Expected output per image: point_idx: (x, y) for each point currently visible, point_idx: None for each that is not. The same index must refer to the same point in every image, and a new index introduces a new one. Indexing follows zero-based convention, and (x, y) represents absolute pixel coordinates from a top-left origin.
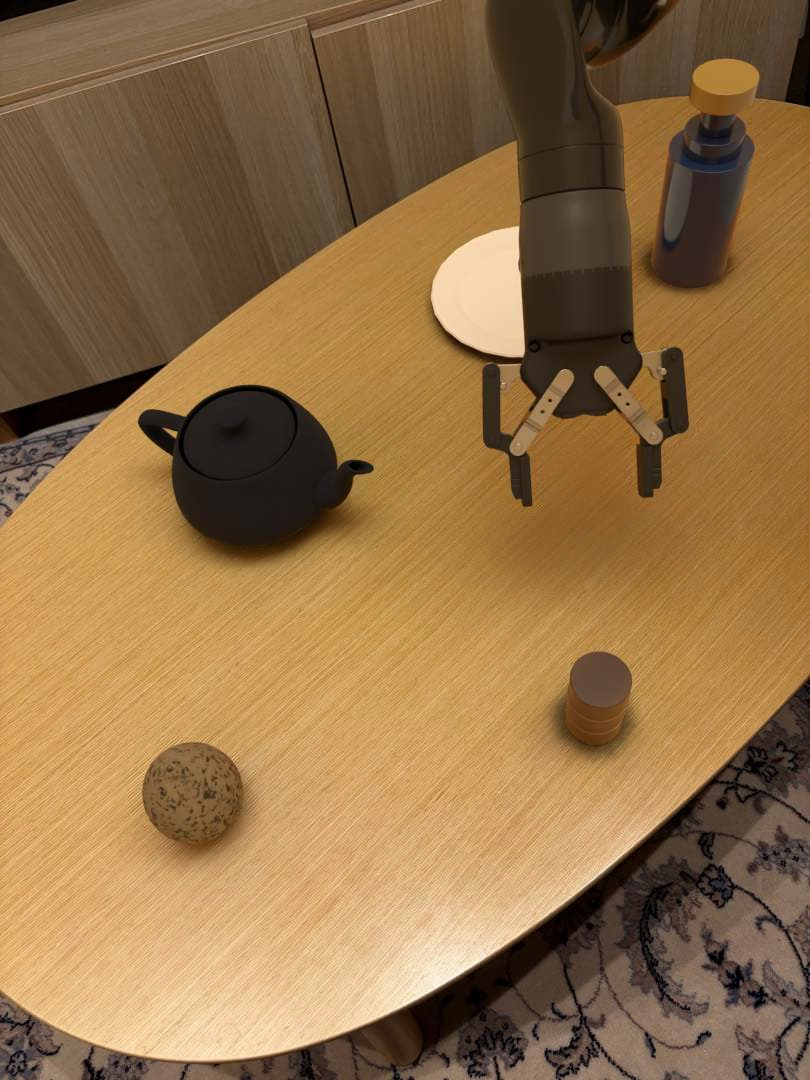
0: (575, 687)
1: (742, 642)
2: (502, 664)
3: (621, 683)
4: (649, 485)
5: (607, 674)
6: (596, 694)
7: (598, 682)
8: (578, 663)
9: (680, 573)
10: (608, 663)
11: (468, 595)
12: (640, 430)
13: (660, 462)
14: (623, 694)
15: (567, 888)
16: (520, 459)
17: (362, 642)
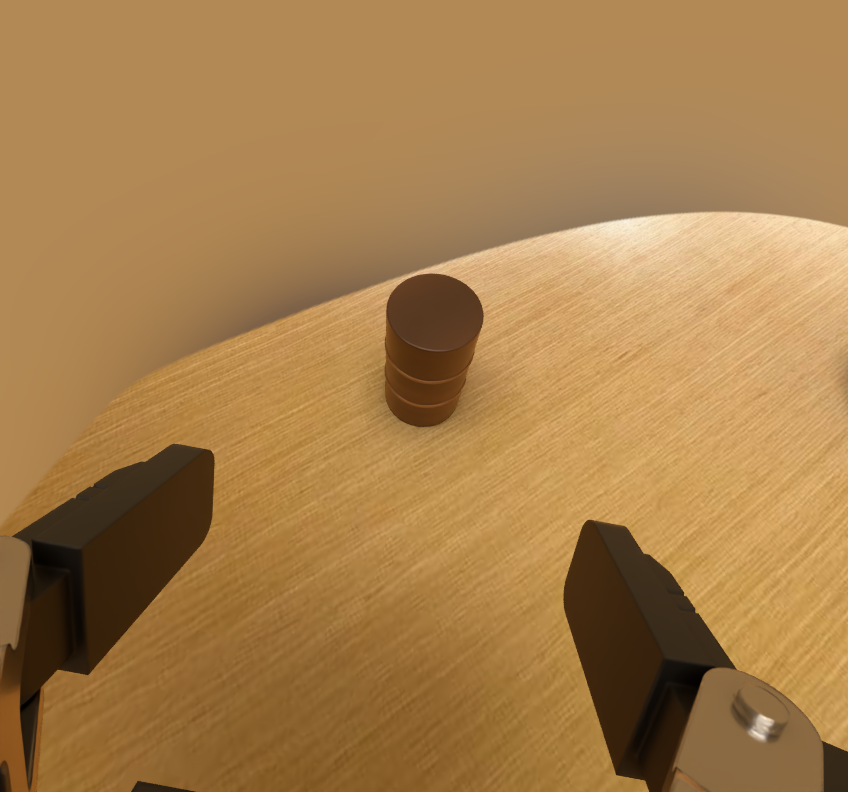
0: (477, 309)
1: (170, 444)
2: (528, 498)
3: (407, 296)
4: (169, 458)
5: (423, 313)
6: (449, 292)
7: (440, 307)
8: (463, 339)
9: (187, 591)
10: (415, 328)
11: (571, 645)
12: (5, 609)
13: (59, 510)
14: (409, 283)
15: (497, 251)
16: (705, 657)
17: (751, 594)
